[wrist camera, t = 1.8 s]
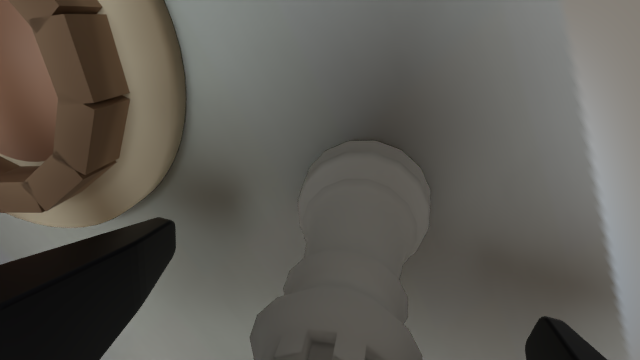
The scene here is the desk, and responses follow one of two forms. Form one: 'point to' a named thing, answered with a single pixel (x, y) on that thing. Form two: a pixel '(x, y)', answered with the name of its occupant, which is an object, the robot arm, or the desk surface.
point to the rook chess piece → (350, 260)
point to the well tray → (145, 120)
